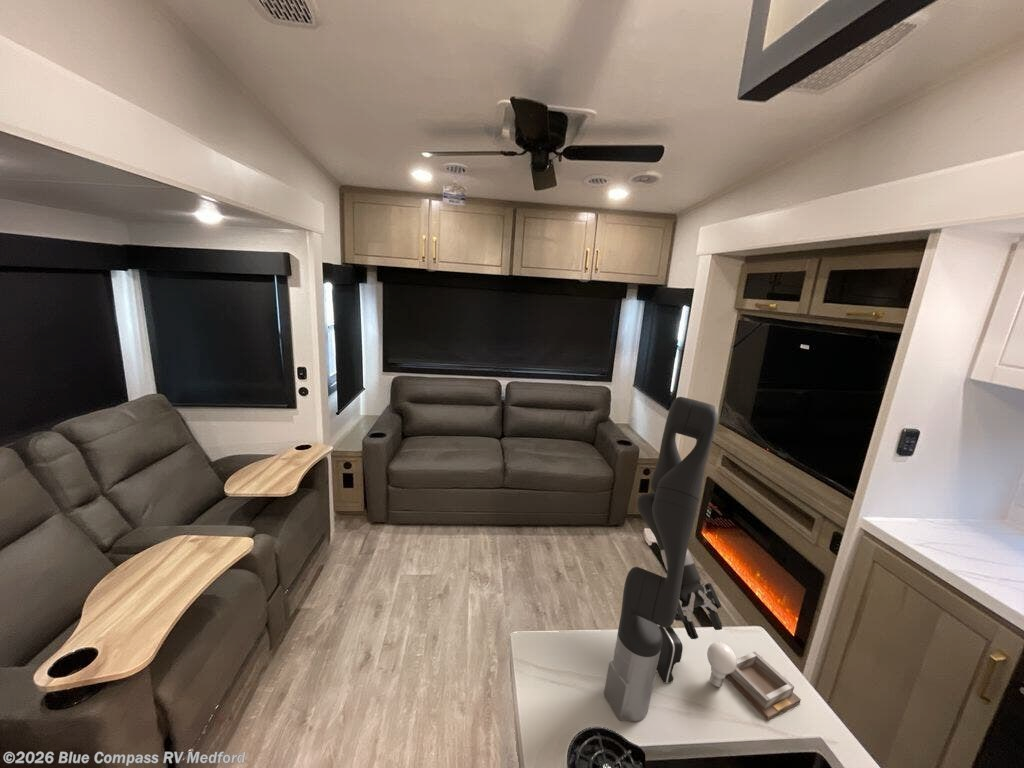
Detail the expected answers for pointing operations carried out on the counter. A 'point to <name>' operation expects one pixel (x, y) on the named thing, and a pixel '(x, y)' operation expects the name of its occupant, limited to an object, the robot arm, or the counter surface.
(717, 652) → the lightbulb
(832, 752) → the counter surface
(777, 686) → the socket board
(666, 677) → the battery charger
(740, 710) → the counter surface
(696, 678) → the counter surface
